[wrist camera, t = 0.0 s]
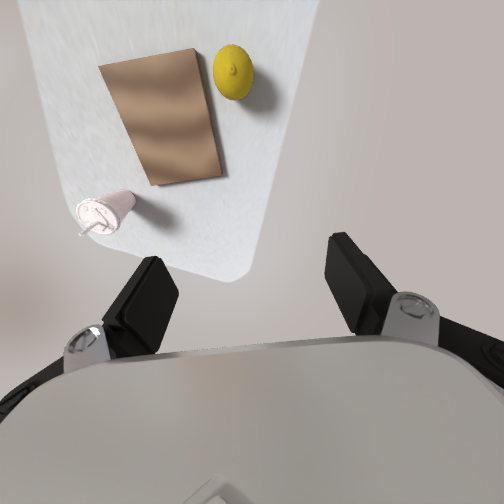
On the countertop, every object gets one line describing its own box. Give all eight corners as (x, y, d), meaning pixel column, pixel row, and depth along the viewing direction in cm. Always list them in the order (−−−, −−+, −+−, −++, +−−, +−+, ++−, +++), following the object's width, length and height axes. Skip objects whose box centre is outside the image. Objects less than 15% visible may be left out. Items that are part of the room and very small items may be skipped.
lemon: (258, 90, 30) (261, 85, 24) (227, 108, 31) (222, 107, 25) (243, 44, 27) (242, 23, 21) (210, 65, 28) (199, 52, 22)
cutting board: (104, 68, 28) (98, 66, 27) (196, 50, 27) (193, 48, 26) (154, 183, 38) (151, 185, 37) (222, 173, 37) (221, 175, 36)
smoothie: (114, 210, 41) (65, 247, 30) (105, 180, 38) (44, 209, 26) (145, 213, 42) (108, 250, 31) (139, 184, 38) (94, 214, 27)
